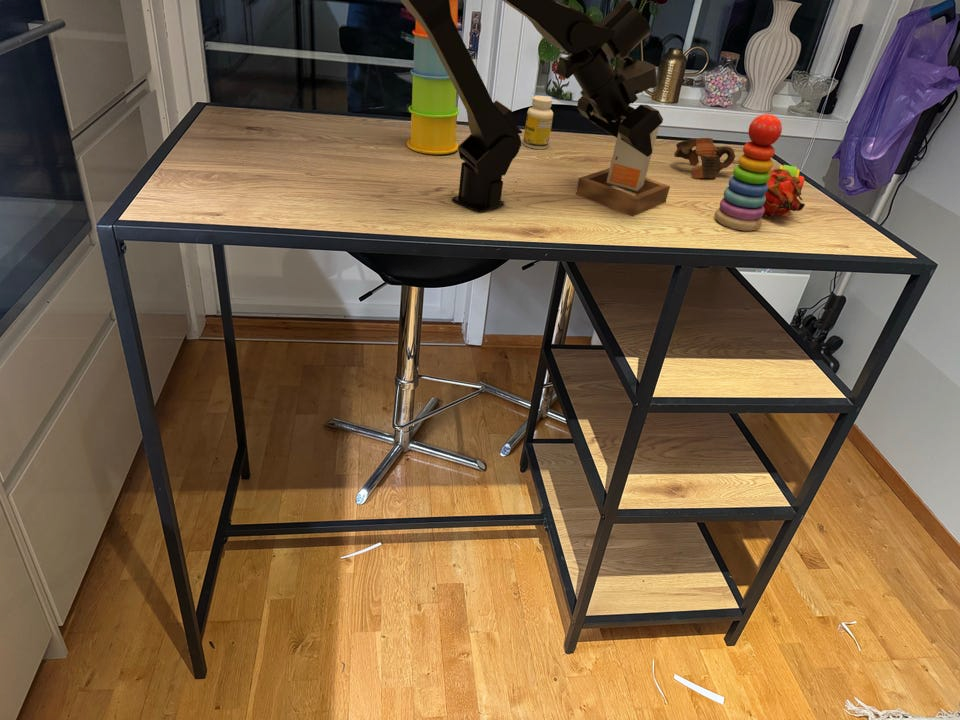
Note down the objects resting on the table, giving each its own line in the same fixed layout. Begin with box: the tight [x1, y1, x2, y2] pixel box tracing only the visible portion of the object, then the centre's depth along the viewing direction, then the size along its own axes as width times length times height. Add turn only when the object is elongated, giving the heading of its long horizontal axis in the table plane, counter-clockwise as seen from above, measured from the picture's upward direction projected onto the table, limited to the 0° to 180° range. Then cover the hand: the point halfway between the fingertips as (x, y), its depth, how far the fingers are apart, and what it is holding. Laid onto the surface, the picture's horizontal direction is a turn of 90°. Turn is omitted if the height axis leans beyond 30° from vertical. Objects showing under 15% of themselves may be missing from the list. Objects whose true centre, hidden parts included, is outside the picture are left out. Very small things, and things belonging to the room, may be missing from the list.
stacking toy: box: [714, 113, 783, 232], centre depth 119 cm, size 8×8×19 cm
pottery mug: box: [673, 137, 736, 180], centre depth 146 cm, size 12×10×8 cm
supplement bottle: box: [522, 95, 554, 150], centre depth 147 cm, size 5×5×10 cm
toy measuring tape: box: [777, 164, 805, 191], centre depth 140 cm, size 6×20×7 cm, turn 159°
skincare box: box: [607, 119, 661, 191], centre depth 124 cm, size 6×4×12 cm
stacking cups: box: [406, 0, 460, 155], centre depth 131 cm, size 10×10×35 cm
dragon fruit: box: [763, 168, 806, 220], centre depth 129 cm, size 8×8×12 cm
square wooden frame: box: [575, 167, 671, 217], centre depth 130 cm, size 12×20×3 cm, turn 139°
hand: (638, 147), depth 124 cm, fingers closed on skincare box, 7 cm apart
